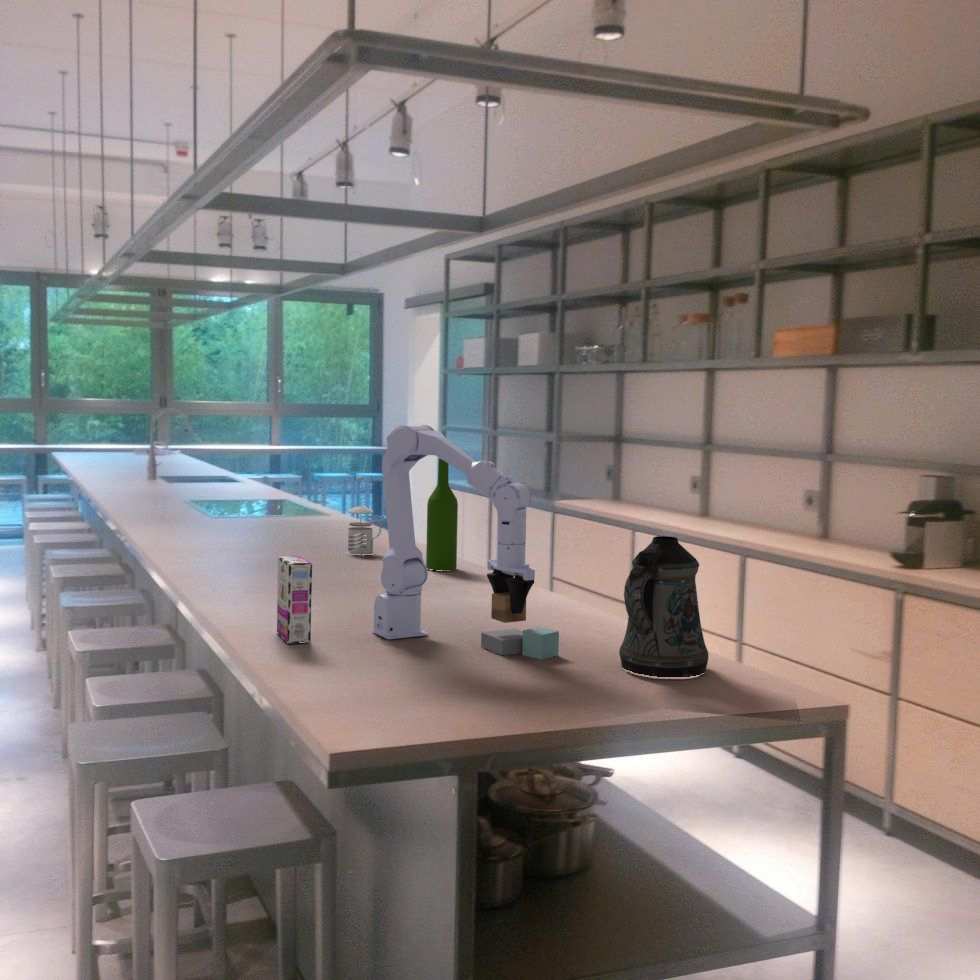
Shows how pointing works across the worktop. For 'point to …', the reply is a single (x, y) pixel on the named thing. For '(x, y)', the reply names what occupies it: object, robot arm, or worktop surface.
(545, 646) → the teal cube
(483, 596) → the worktop surface
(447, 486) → the wine bottle
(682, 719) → the worktop surface
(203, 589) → the worktop surface
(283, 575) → the candy bar box
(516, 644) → the base block
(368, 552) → the french press
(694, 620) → the beer stein
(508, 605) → the walnut cube
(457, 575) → the worktop surface
